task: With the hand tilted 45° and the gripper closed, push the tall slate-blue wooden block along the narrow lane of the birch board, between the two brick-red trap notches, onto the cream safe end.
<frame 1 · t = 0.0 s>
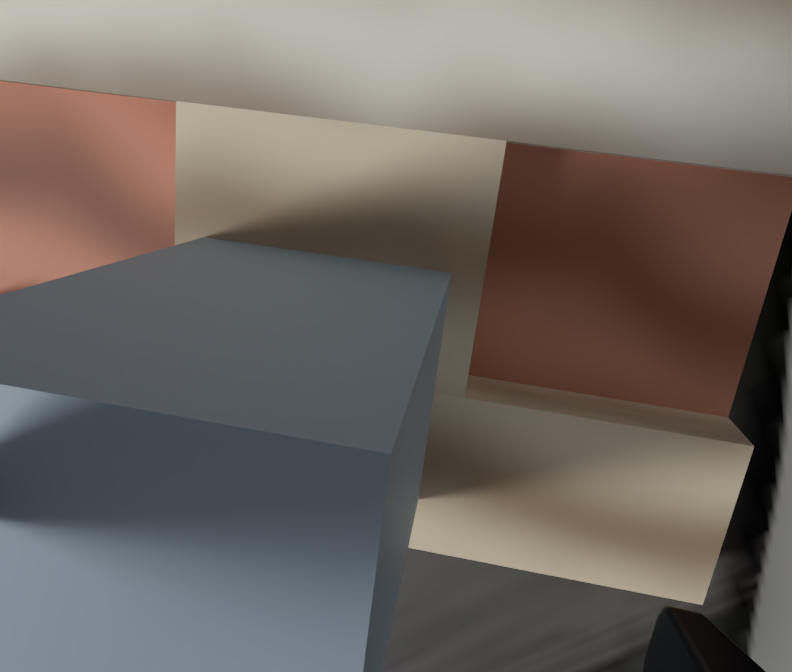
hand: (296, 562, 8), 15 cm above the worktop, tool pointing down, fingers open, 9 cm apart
trap board: (350, 170, 21), on the worktop
slate block: (315, 373, 20), point 2 cm above the worktop, touching trap board
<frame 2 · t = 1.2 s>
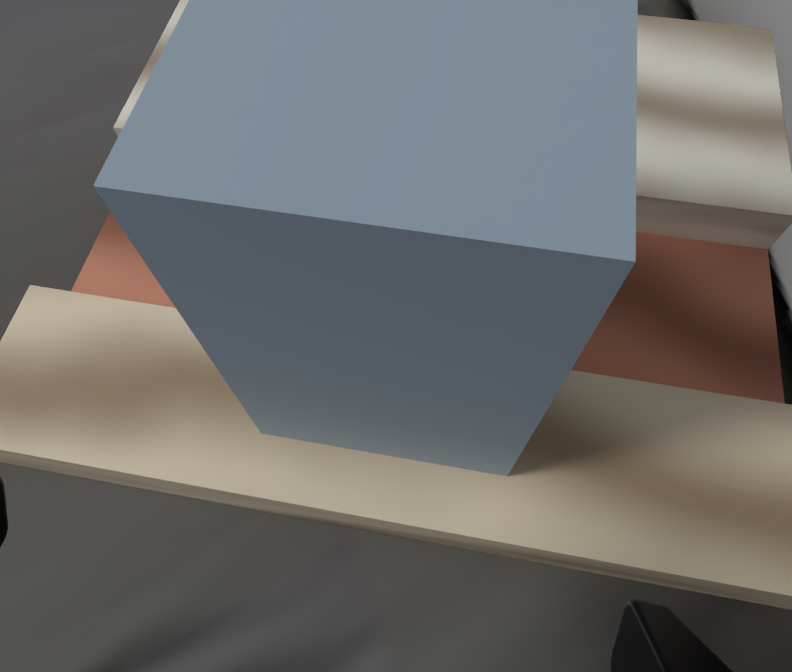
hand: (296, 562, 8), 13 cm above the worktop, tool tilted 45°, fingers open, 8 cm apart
trap board: (429, 236, 26), on the worktop
slate block: (403, 343, 21), point 2 cm above the worktop, touching trap board
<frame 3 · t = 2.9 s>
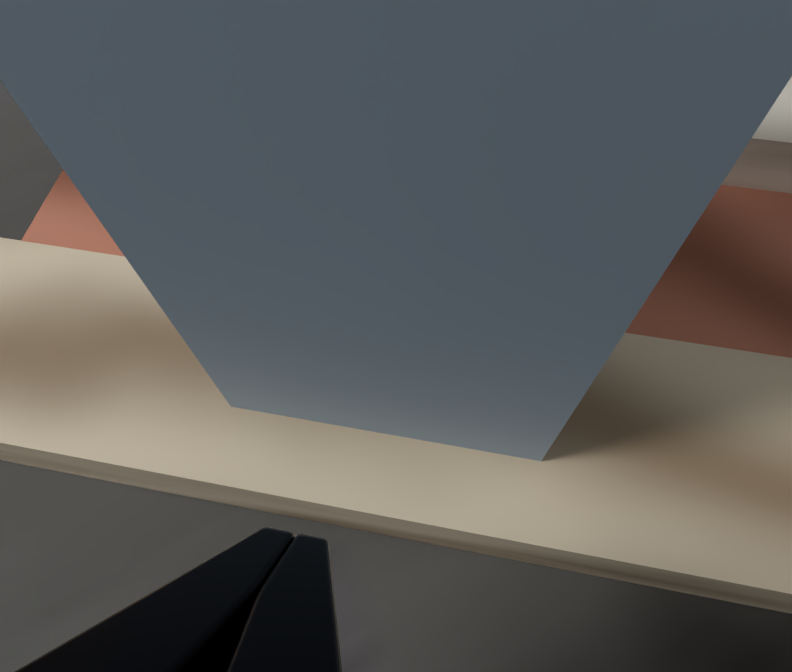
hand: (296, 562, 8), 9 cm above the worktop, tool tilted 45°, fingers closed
trap board: (441, 186, 22), on the worktop
slate block: (409, 299, 17), point 2 cm above the worktop, touching trap board
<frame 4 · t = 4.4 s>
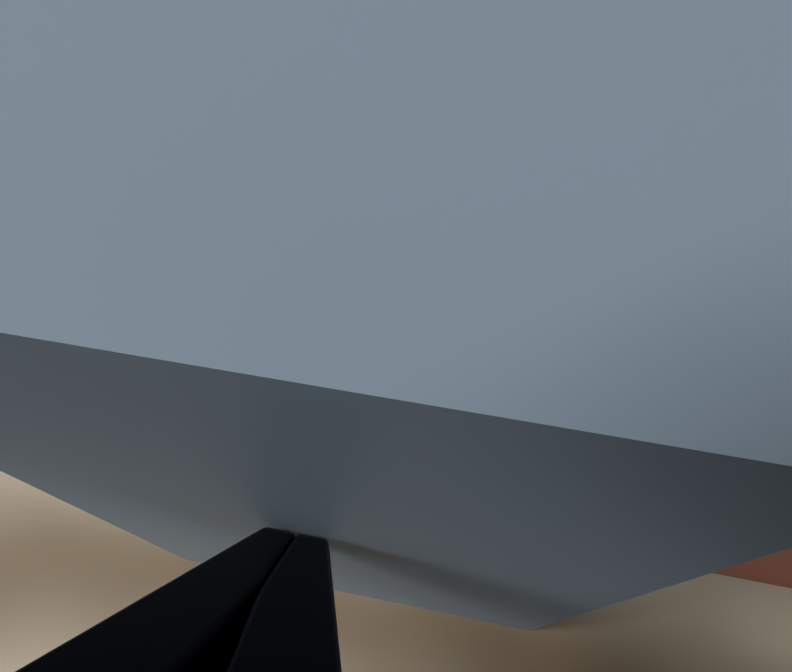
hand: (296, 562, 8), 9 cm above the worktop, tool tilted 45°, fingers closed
trap board: (418, 327, 20), on the worktop
slate block: (386, 428, 16), point 3 cm above the worktop, touching trap board
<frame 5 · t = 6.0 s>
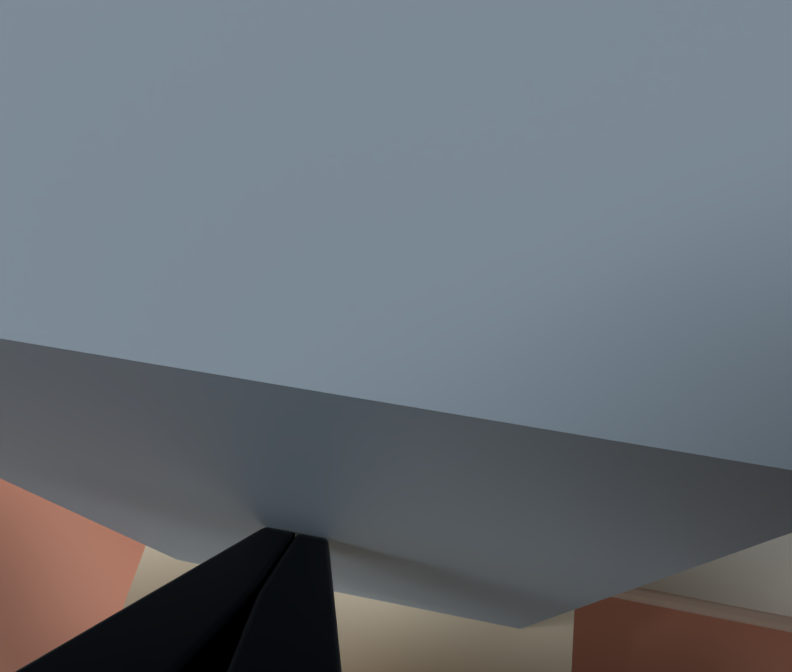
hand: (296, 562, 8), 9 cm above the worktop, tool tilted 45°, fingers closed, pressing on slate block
trap board: (357, 610, 16), on the worktop
slate block: (377, 428, 16), point 3 cm above the worktop, touching gripper, trap board
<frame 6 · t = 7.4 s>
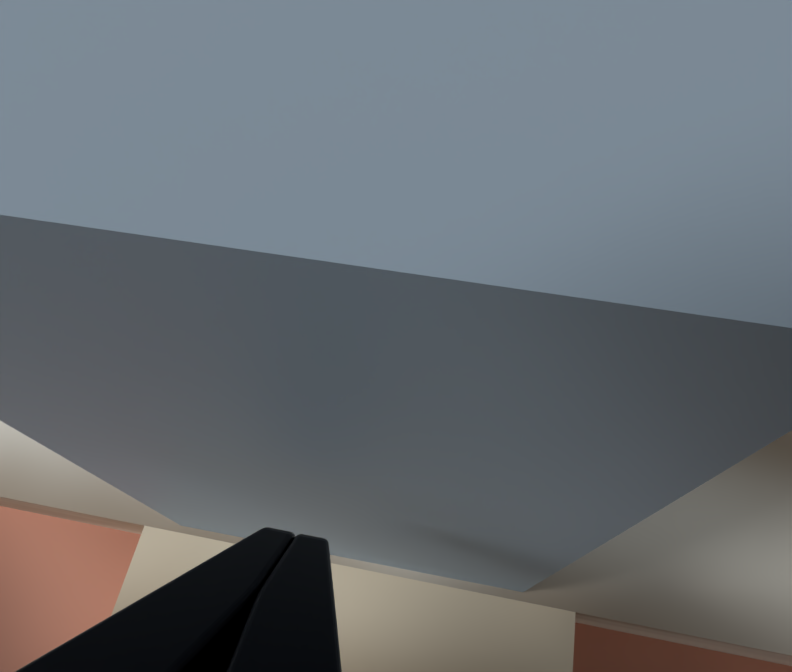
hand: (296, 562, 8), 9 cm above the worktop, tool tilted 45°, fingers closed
trap board: (347, 642, 15), on the worktop
slate block: (380, 397, 16), point 2 cm above the worktop, touching trap board
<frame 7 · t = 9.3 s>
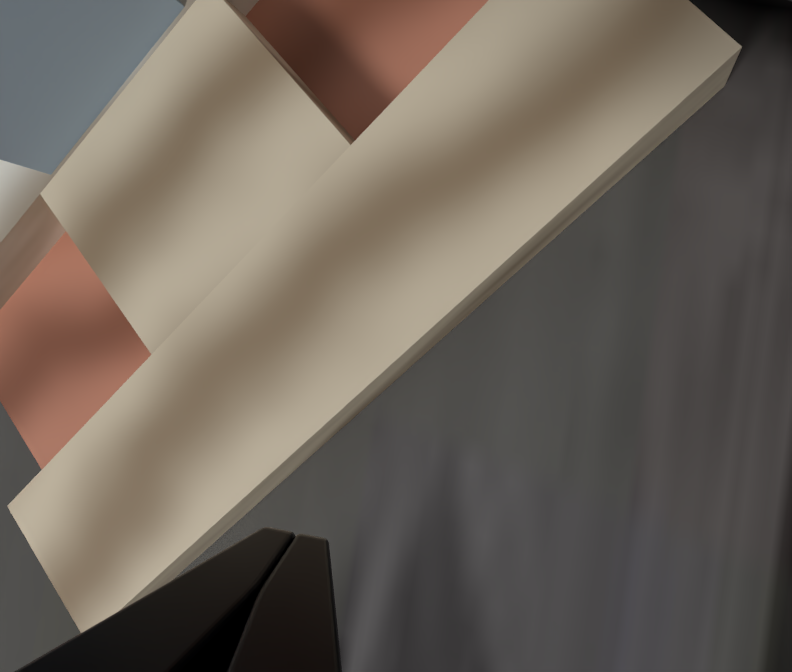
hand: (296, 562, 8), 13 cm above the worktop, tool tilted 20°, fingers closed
trap board: (187, 144, 24), on the worktop
slate block: (59, 23, 23), point 2 cm above the worktop, touching trap board
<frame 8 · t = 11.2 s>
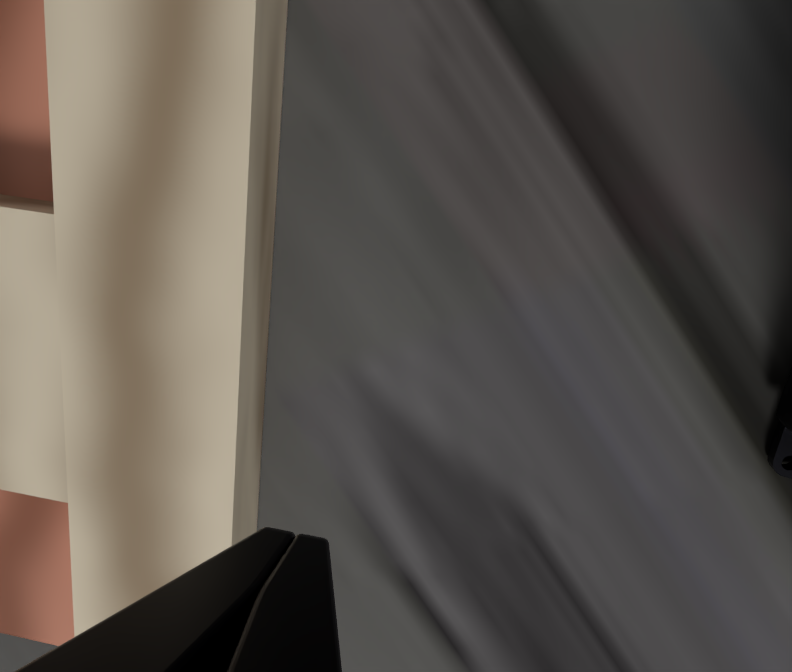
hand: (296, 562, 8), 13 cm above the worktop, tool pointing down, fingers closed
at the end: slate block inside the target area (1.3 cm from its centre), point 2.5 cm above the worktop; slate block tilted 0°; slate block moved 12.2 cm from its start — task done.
